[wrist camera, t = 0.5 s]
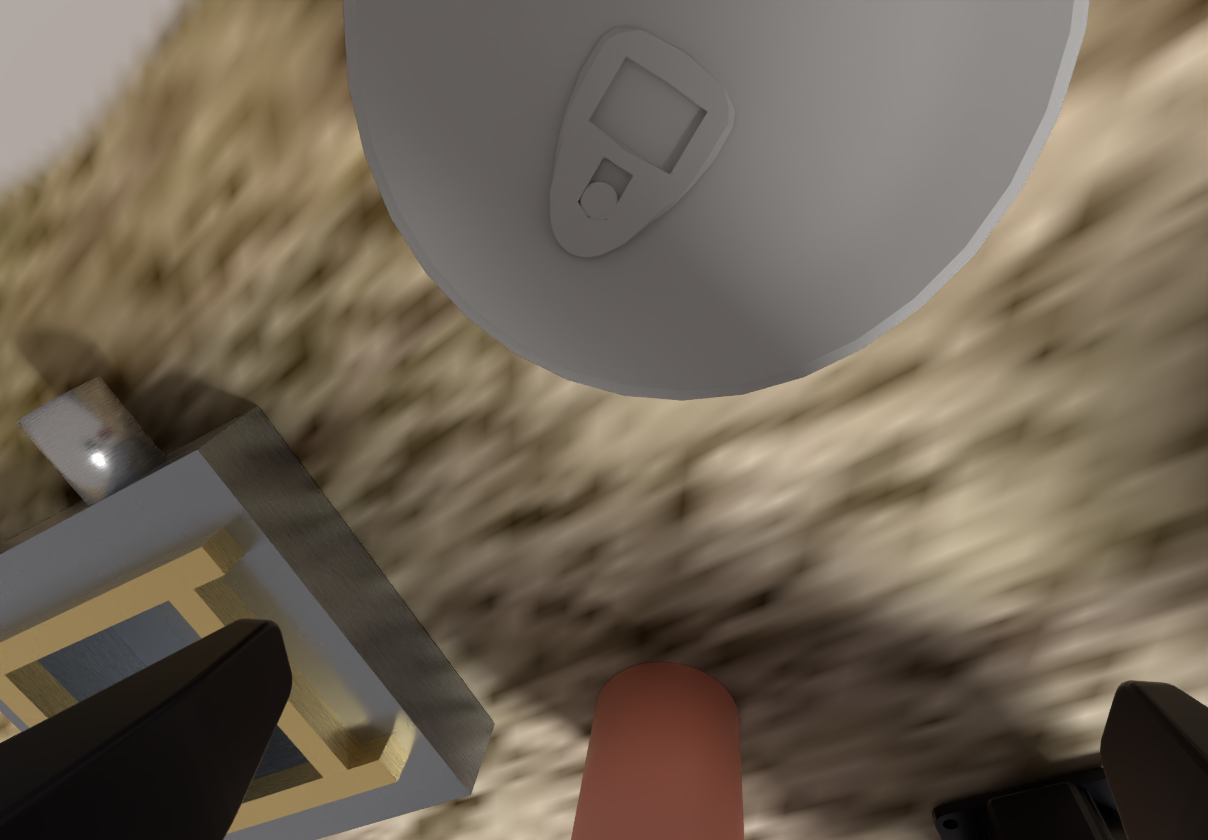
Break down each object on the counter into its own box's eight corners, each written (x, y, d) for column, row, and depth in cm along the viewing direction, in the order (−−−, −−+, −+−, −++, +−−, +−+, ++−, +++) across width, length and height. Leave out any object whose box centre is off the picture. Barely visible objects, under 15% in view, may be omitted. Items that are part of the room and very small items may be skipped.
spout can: (762, 748, 26) (783, 1030, 19) (636, 783, 28) (606, 1057, 20) (700, 644, 25) (694, 903, 17) (570, 686, 26) (510, 943, 19)
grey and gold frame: (494, 724, 27) (461, 822, 24) (220, 812, 32) (157, 906, 28) (194, 321, 22) (94, 369, 19) (-86, 491, 26) (-212, 557, 23)
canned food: (511, 186, 19) (300, 305, 10) (592, -189, 16) (393, -617, 6) (794, 275, 19) (879, 487, 10) (938, -81, 16) (1306, -330, 6)
